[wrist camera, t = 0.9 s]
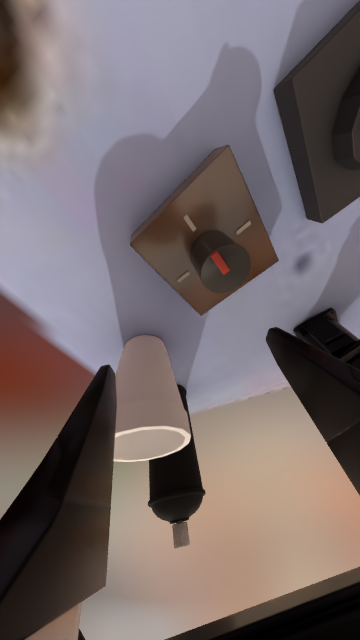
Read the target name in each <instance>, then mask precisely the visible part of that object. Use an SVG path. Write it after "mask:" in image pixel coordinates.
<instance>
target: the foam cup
mask: <svg viewBox="0 0 360 640" xmlns="http://www.w3.org/2000/svg"><path fill="white" fill-rule="evenodd" d="M115 377H116V395H117V413H116V429H115V445H114V461H122V462H133V461H144V460H150V459H155V458H159V457H163V456H167V455H169V454H171V453H174V452H176V451H179V450H181V449H182V448H183V447H185V446H186V445H187V444H188V443H189V442H190V438H191V433H190V427H189V421H188V416H187V412H186V411H185V410H184V407H183V404H182V400H181V397H180V394H179V390H178V387H177V384H176V380H175V377H174V374H173V370H172V367H171V364H170V360H169V357H168V353H167V350H166V348H165V345H164V343H163V342H162V340H161V339H159V338H157V337H155V336H150V335H141V336H136V337H133V338H132V339H130V340H129V341H127V343H126V345H125V347H124V350H123V352H122V356H121V359H120V362H119V365H118V369H117V372H116V375H115Z"/></svg>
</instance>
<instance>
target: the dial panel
mask: <svg viewBox="0 0 360 640" xmlns="http://www.w3.org/2000/svg"><path fill="white" fill-rule="evenodd" d="M209 231H220V232H223V233H224V234H226V235H227V236H228V237H230V238H231V239H232V240H234V241H235V242H236V243H237V244H239V245H240V246H241V247H243V248H244V249H245V250H246V251H247V252H248V254H249V256H250V260H251V268H250V272H249V274H248V276H247V278H246V280H245V281H244V282H243V283H242V284H241V285H240V286H239V287H238V288H236V289H235V290H233V291H231V292H228V293H224V294H217V293H213V292H210V291H209V290H207V289H206V288H205V287H204V285H203V284H202V282H201V280H200V278H199V276H198V274H197V272H196V270H195V268H194V266H193V264H192V262H191V249H192V247H193V244H194V243H195V241H196V240H197V239H198V238H199V237H200V236H201V235H203V234H204V233H206V232H209ZM130 245H131V246H132V247H133V248H134V249H135V250H136V251H137V252H138V253H139V254H140V255H141V256H142V257H143V258H144V259H145V260H146V261H147V262H148V263H149V264H150V265H151V266H152V267H153V268H154V269H155V270H156V271H157V272H158V273H159V274H160V275H161V276H162V277H163V278H164V279H165V280H166V281H167V282H168V283H169V284H170V285H171V286H172V287H173V288H174V289H175V290H176V291H177V292H178V293H179V294H180V295H181V296H182V297H183V298H184V299H185V300H186V301H187V302H188V303H189V304H190V305H191V306H192V307H193V308H194V309H195V310H196V311H197V312H198V313H199V314H200V315H203V314H204V313H205V312H207V311H208V310H210V309H211V308H213V307H214V306H215V305H217V304H218V303H220V302H221V301H222V300H224V299H225V298H227V297H228V296H230V295H231V294H232V293H234V292H235V291H237V290H238V289H239V288H241V287H242V286H244V285H245V284H247V283H248V282H249V281H251V280H252V279H254V278H255V277H256V276H258V275H259V274H261V273H262V272H264V271H265V270H266V269H268V268H269V267H271V266H272V265H273V264H275V263H276V262H278V261H279V260H278V258H277V255H276V253H275V251H274V248H273V246H272V244H271V241H270V239H269V237H268V234H267V232H266V230H265V227H264V225H263V223H262V220H261V218H260V216H259V213H258V211H257V209H256V207H255V204H254V202H253V200H252V197H251V195H250V193H249V190H248V188H247V186H246V183H245V181H244V179H243V176H242V174H241V172H240V169H239V167H238V165H237V162H236V160H235V158H234V155H233V153H232V151H231V149H230V146H229V145H226V146H223V147H220V148H217V149H215V150H214V151H213V152H212V153H211V154H210V155H209V156H208V157H207V158H206V159H205V160H204V161H203V162H202V163H201V164H200V165H199V166H198V167H197V168H196V169H195V171H194V172H193V173H192V174H191V175H190V176H189V177H188V178H187V179H186V180H185V181H184V182H183V183H182V184H181V185H180V186H179V187H178V188H177V189H176V190H175V191H174V192H173V193H172V194H171V195H170V196H169V197H168V198H167V199H166V200H165V201H164V202H163V203H162V204H161V205H160V206H159V208H158V209H157V210H156V211H155V212H154V213H153V214H152V215H151V216H150V217H149V218H148V219H147V220H146V221H145V222H144V223H143V224H142V225H141V226H140V227H139V228H138V229H137V230H136V231H135V232H134V233H133V234H132V236H131V241H130Z"/></svg>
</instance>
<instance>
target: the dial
mask: <svg viewBox="0 0 360 640" xmlns="http://www.w3.org/2000/svg"><path fill="white" fill-rule="evenodd" d="M191 262H192V264H193V266H194V268H195V270H196V272H197V274H198V276H199V278H200V280H201V282H202V284H203V285H204V287H205V288H206V289H207V290H209V291H210V292H213V293H217V294H224V293H228V292H231V291H233V290H235V289H236V288H238V287H239V286H240V285H241V284H242V283H243V282H244V281H245V280H246V278H247V276H248V274H249V272H250V268H251V260H250V256H249V254H248V252H247V251H246V250H245V249H244V248H243V247H241V246H240V245H239V244H237V243H236V242H235V241H234V240H232V239H231V238H230V237H228V236H227V235H226V234H224V233H223V232H220V231H209V232H206V233H204V234H203V235H201V236H200V237H199V238H198V239H197V240H196V241H195V243H194V244H193V247H192V249H191Z"/></svg>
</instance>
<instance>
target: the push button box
mask: <svg viewBox="0 0 360 640" xmlns="http://www.w3.org/2000/svg"><path fill="white" fill-rule="evenodd" d="M274 94H275V97H276V101H277V105H278V109H279V113H280V116H281V120H282V124H283V128H284V132H285V136H286V139H287V143H288V147H289V151H290V155H291V159H292V162H293V166H294V170H295V174H296V178H297V181H298V185H299V189H300V193H301V197H302V201H303V204H304V208H305V212H306V216H307V219H309V220H313V221H316V222H319V223H324V222H325V221H326V220H328V219H329V218H331V217H332V216H333V215H335V214H336V213H338V212H339V211H340V210H342V209H343V208H345V207H346V206H347V205H349V204H350V203H352V202H353V201H354V200H356V199H357V198H359V197H360V1H359V2H358V3H357V4H356V5H355V6H354V7H353V8H352V9H351V10H350V11H349V12H348V13H347V14H346V15H345V16H344V17H343V18H342V20H341V21H340V22H339V23H338V24H337V25H336V26H335V27H334V28H333V29H332V30H331V31H330V32H329V33H328V34H327V35H326V36H325V37H324V38H323V39H322V40H321V41H320V42H319V43H318V44H317V45H316V46H315V47H314V48H313V49H312V50H311V51H310V52H309V53H308V54H307V55H306V57H305V58H304V59H303V60H302V61H301V62H300V63H299V64H298V65H297V66H296V67H295V68H294V69H293V70H292V71H291V72H290V73H289V74H288V75H287V76H286V77H285V78H284V79H283V80H282V81H281V82H280V83H279V84H278V85H277V86H276V87H275V89H274Z"/></svg>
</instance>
